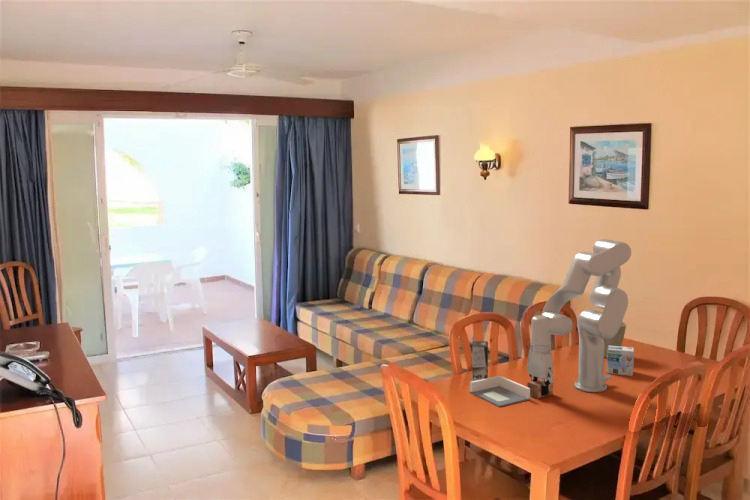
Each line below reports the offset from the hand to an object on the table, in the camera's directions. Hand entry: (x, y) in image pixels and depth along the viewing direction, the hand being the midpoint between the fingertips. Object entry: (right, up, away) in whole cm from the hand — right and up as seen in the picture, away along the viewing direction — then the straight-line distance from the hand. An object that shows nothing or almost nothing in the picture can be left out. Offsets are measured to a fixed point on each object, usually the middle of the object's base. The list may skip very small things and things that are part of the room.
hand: (540, 392), depth 252 cm
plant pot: (+44, +6, +48) cm, 66 cm away
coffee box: (-21, +1, +17) cm, 27 cm away
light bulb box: (+41, +3, +25) cm, 48 cm away
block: (0, -1, 0) cm, 1 cm away
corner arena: (-16, -1, -1) cm, 16 cm away
